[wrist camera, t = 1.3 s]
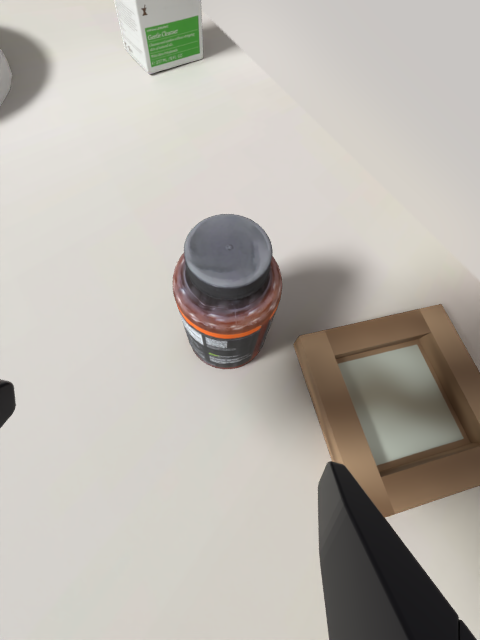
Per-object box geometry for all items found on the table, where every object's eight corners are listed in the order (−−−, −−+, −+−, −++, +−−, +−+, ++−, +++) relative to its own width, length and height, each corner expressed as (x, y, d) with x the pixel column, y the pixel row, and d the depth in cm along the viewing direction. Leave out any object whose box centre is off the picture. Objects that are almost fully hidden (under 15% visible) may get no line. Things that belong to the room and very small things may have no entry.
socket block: (505, 465, 21) (532, 467, 19) (350, 516, 19) (364, 524, 17) (425, 314, 25) (441, 303, 23) (293, 344, 23) (299, 335, 22)
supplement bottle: (248, 293, 25) (268, 184, 15) (274, 357, 23) (319, 285, 12) (179, 312, 24) (148, 210, 14) (200, 382, 22) (182, 325, 11)
